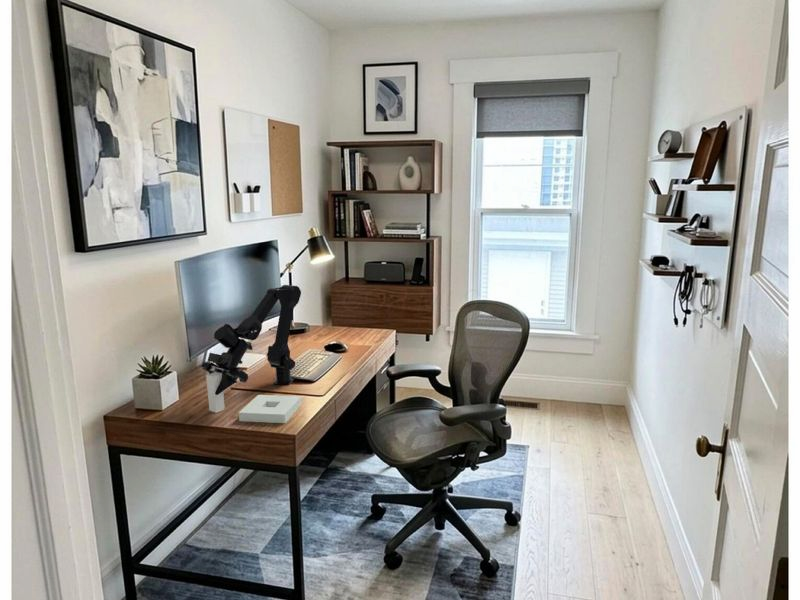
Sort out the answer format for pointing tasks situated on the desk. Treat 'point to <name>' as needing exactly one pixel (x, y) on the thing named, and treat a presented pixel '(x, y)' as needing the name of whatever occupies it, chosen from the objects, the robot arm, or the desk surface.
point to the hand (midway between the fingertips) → (212, 393)
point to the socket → (270, 409)
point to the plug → (214, 400)
